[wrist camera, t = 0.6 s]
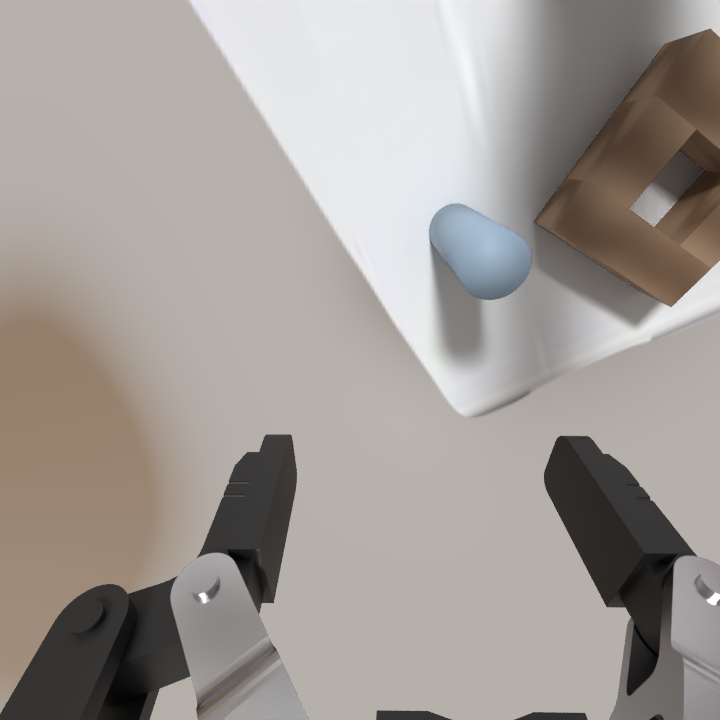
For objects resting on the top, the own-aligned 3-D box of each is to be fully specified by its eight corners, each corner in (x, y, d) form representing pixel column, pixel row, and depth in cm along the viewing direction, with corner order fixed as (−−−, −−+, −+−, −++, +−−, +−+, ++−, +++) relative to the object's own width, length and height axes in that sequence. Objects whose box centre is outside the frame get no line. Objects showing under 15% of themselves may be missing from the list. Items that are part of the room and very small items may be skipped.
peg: (447, 193, 32) (489, 216, 21) (487, 219, 33) (546, 252, 22) (419, 239, 34) (446, 280, 23) (458, 262, 35) (500, 310, 24)
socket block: (664, 43, 27) (710, 28, 23) (780, 148, 30) (835, 148, 26) (533, 221, 33) (554, 230, 29) (641, 291, 36) (671, 307, 33)
